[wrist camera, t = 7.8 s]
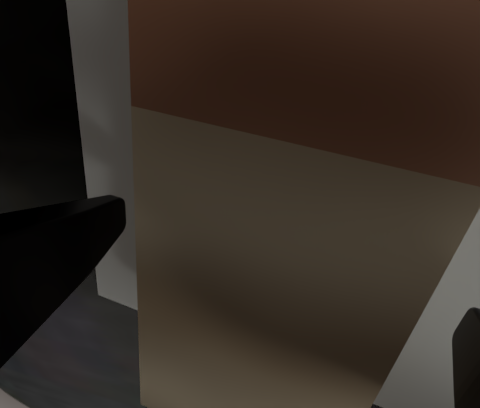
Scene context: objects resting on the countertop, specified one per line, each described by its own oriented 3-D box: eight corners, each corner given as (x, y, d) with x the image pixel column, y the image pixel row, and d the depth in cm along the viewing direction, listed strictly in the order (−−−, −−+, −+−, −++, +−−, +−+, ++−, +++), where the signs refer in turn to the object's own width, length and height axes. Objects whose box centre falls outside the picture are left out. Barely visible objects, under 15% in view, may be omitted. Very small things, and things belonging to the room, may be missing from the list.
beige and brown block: (337, 371, 13) (324, 491, 10) (195, 316, 14) (140, 404, 11) (491, 12, 7) (596, -7, 4) (224, -20, 8) (126, -55, 5)
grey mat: (826, -15, 6) (867, -19, 5) (465, 425, 13) (468, 442, 12) (73, -78, 10) (56, -85, 9) (106, 286, 16) (98, 294, 16)
